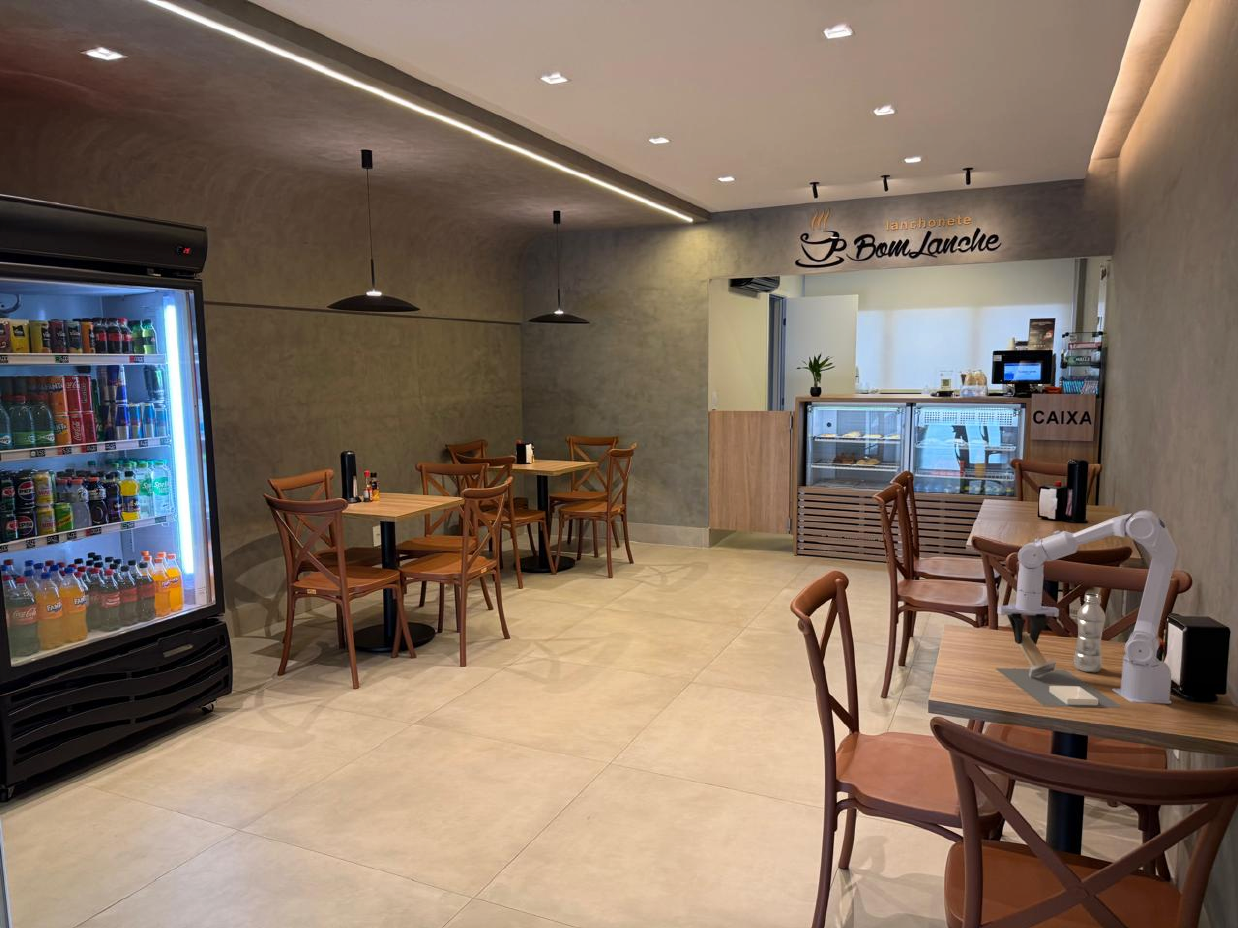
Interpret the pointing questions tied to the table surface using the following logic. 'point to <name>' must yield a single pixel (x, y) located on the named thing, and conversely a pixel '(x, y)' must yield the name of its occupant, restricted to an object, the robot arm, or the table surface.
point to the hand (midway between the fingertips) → (1025, 642)
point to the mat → (1042, 682)
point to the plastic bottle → (1089, 634)
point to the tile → (1073, 695)
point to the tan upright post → (1035, 657)
